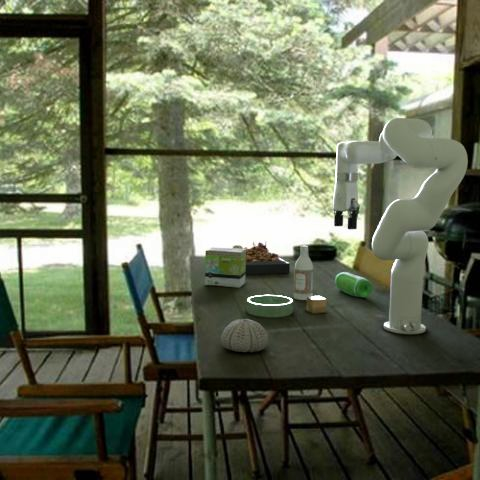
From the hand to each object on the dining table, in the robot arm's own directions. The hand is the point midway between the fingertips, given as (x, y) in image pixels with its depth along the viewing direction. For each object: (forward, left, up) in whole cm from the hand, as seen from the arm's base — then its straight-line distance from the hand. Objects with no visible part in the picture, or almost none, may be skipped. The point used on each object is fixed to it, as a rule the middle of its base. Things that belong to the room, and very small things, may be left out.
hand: (345, 227), depth 216 cm
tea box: (+37, +43, -28) cm, 63 cm away
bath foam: (+12, +13, -28) cm, 34 cm away
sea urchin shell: (-50, +34, -28) cm, 67 cm away
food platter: (+84, +32, -28) cm, 94 cm away
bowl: (-10, +26, -28) cm, 40 cm away
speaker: (+22, -7, -28) cm, 37 cm away
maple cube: (-8, +10, -28) cm, 31 cm away
